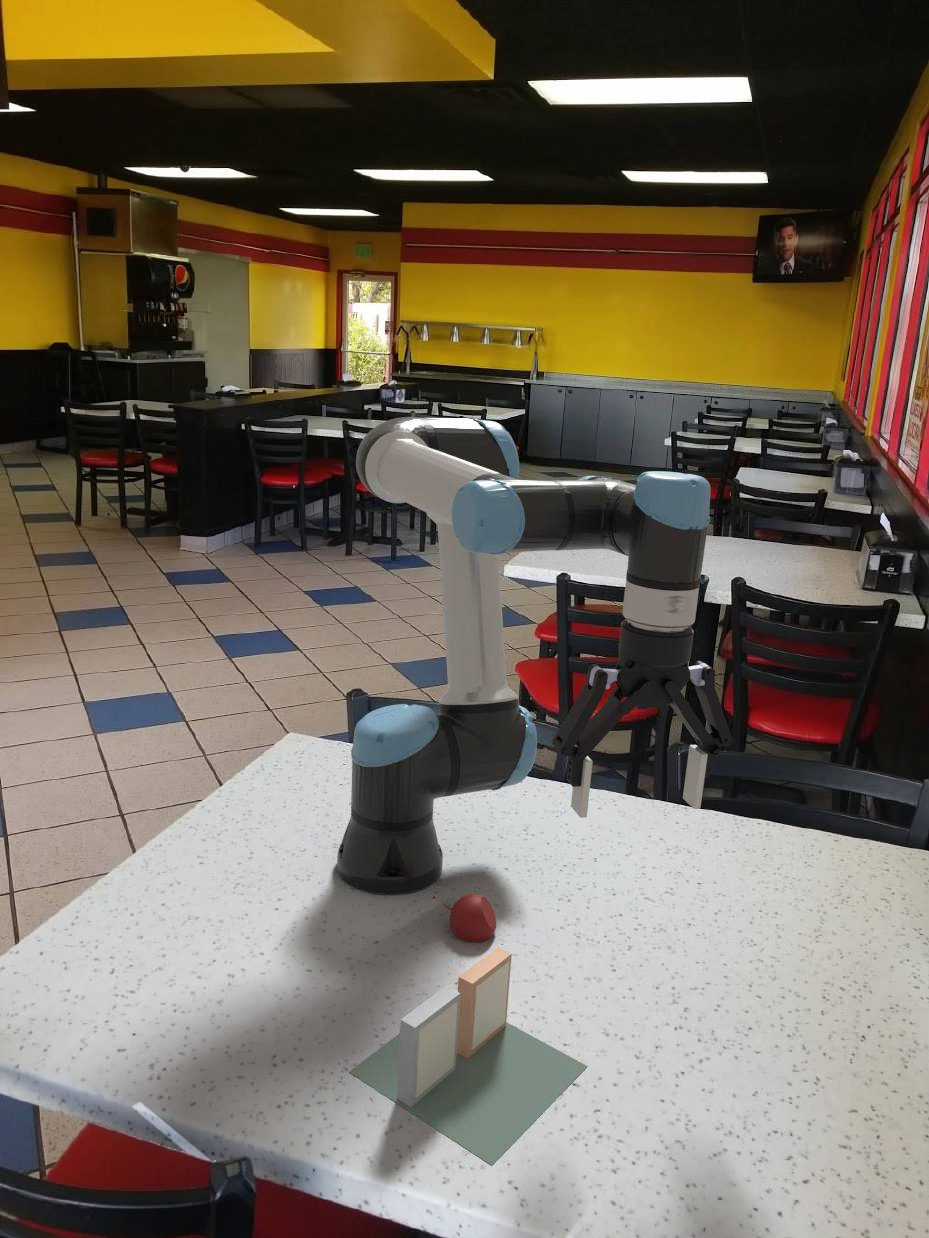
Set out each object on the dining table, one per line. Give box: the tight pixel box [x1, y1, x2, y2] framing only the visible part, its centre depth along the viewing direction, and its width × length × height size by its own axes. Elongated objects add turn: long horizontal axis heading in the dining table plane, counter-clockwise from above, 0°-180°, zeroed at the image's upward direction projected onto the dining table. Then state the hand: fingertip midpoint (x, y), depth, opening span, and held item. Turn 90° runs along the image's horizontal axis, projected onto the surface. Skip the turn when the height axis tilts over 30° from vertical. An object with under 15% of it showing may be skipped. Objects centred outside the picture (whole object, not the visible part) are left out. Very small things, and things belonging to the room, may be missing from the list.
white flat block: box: [397, 985, 460, 1107], centre depth 95 cm, size 2×7×9 cm, turn 142°
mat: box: [348, 1021, 589, 1167], centre depth 99 cm, size 18×17×1 cm
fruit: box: [431, 893, 497, 943], centre depth 122 cm, size 6×6×8 cm
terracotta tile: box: [457, 947, 513, 1059], centre depth 102 cm, size 2×7×9 cm, turn 142°
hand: (636, 807), depth 106 cm, fingers open, 13 cm apart
